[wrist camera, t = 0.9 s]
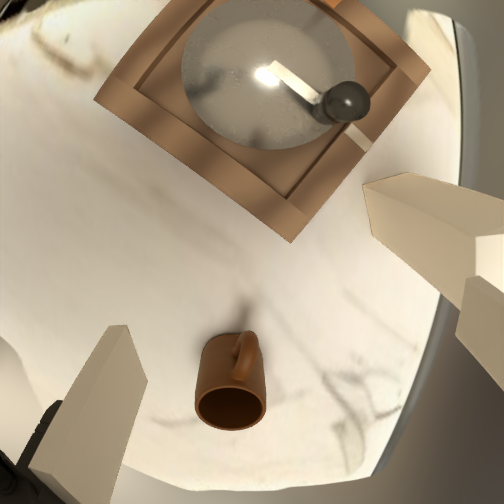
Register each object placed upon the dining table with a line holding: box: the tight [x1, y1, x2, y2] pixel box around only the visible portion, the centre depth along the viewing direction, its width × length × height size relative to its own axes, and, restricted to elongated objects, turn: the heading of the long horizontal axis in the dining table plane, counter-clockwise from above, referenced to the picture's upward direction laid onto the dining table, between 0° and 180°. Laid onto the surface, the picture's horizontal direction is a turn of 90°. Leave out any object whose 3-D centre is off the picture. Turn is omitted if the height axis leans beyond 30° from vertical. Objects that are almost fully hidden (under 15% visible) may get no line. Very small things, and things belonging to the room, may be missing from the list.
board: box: [93, 0, 431, 244], centre depth 26 cm, size 24×24×3 cm
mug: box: [195, 331, 266, 431], centre depth 33 cm, size 12×8×9 cm, turn 164°
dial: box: [181, 0, 371, 150], centre depth 22 cm, size 16×16×8 cm
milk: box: [362, 173, 504, 310], centre depth 22 cm, size 6×6×22 cm
